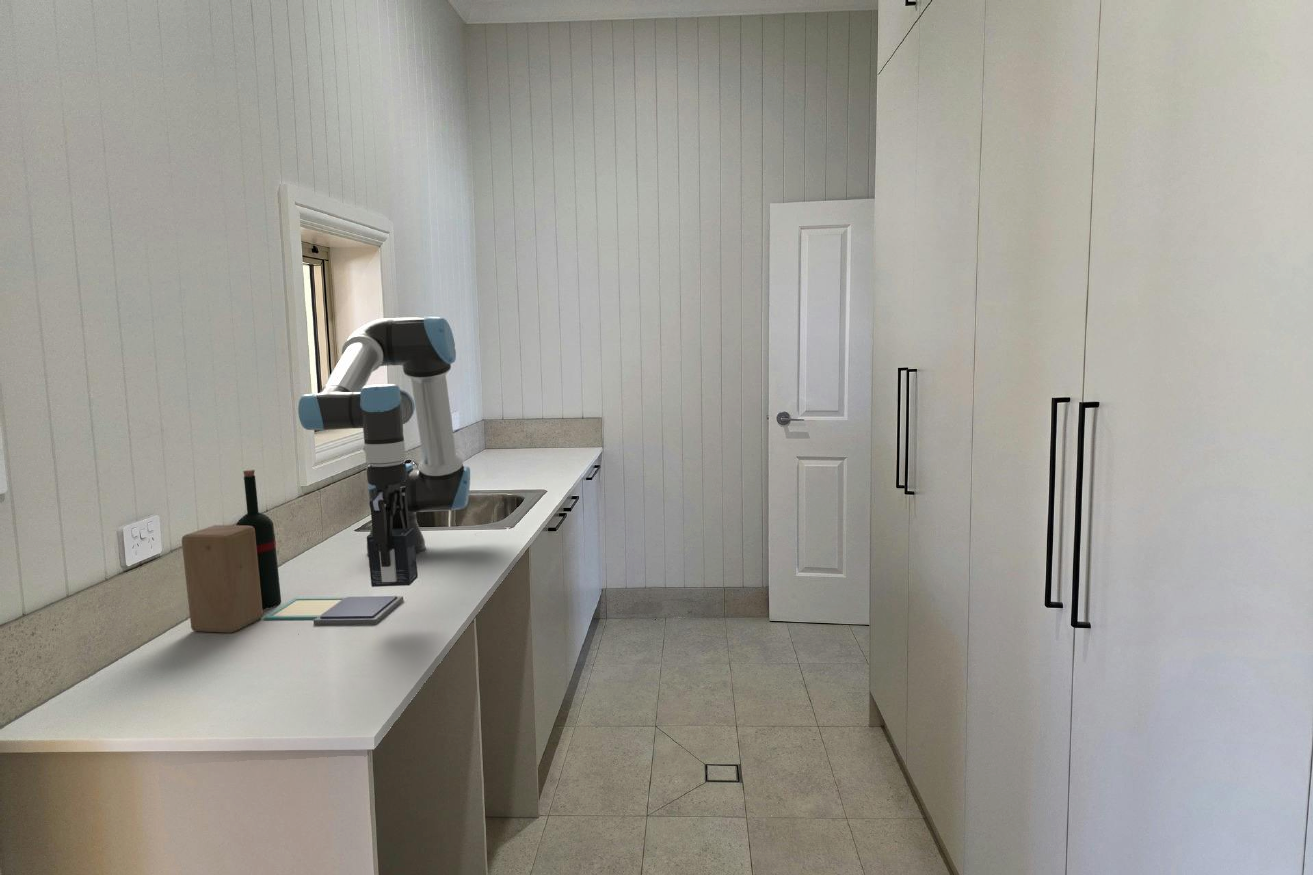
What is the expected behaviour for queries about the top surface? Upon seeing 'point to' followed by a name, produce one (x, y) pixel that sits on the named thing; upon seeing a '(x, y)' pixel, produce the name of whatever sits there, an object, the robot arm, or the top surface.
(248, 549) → the wooden block
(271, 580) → the wine bottle
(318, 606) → the print frame
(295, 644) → the top surface
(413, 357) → the robot arm
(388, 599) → the ink pad
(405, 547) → the box
